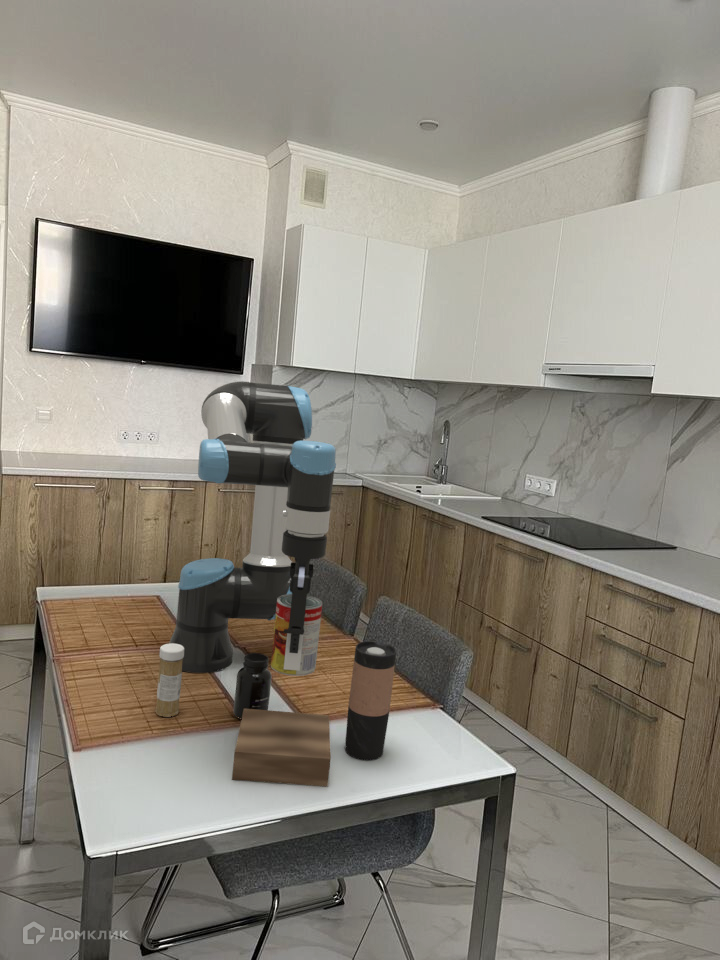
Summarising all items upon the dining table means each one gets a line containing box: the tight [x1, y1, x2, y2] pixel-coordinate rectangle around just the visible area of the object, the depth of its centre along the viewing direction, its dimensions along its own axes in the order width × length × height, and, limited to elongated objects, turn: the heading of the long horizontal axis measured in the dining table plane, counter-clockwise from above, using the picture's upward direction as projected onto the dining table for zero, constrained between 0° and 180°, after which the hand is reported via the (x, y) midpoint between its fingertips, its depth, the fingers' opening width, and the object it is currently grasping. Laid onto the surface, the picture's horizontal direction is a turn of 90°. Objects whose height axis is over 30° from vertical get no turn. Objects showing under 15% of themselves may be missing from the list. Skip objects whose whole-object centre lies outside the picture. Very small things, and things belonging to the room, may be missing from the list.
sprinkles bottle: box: [154, 643, 184, 718], centre depth 143 cm, size 5×5×14 cm
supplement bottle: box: [232, 652, 272, 720], centre depth 147 cm, size 7×7×12 cm
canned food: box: [270, 594, 323, 677], centre depth 129 cm, size 8×8×12 cm
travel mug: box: [344, 640, 397, 761], centre depth 137 cm, size 8×8×20 cm
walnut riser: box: [231, 709, 332, 787], centre depth 132 cm, size 16×16×5 cm
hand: (292, 659), depth 130 cm, fingers closed on canned food, 8 cm apart
